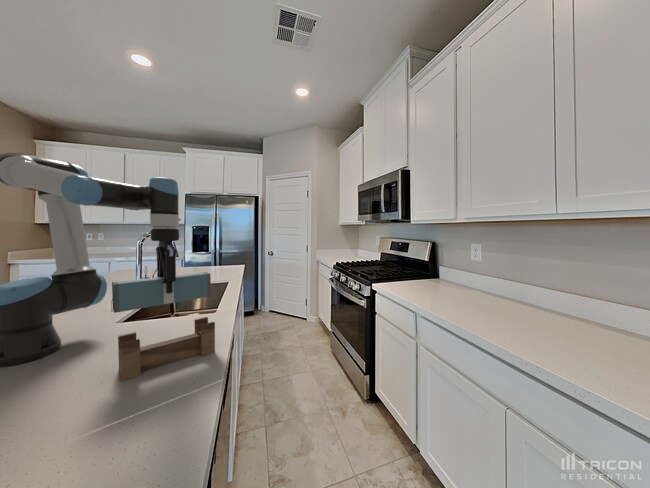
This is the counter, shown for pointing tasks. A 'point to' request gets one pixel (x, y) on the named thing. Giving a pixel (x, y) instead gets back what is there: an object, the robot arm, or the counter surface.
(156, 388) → the counter surface
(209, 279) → the rail
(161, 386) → the counter surface
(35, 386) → the counter surface
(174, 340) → the wooden slotted stand
